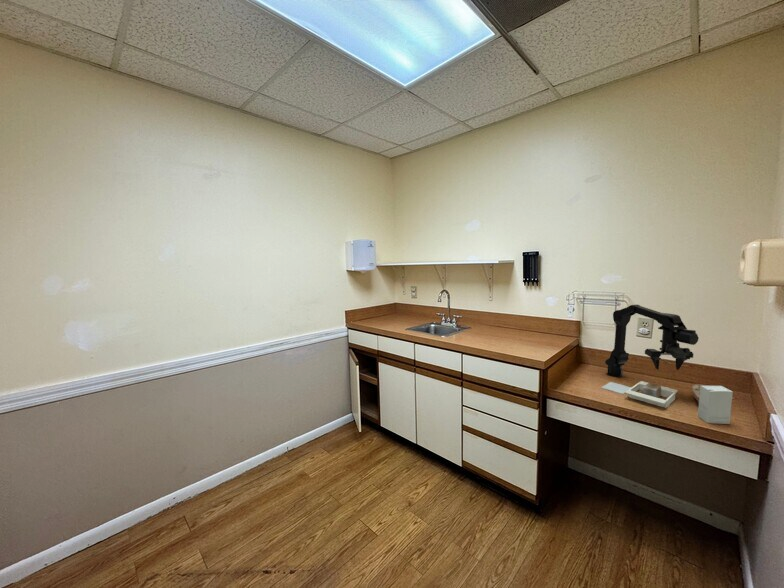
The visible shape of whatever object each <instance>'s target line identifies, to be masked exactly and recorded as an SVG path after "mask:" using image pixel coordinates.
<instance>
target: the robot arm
mask: <svg viewBox="0 0 784 588" xmlns="http://www.w3.org/2000/svg"><path fill="white" fill-rule="evenodd" d="M636 314H638V315H640V316H643V317H645V318H649V319H650V320H651V319H652V320H654V321H656V322H657V323H658V324H660V326H659V327H657V329H658V330H661V331H662V336H661V339H659V343H661V346H660V347H659V350H657V349H656V348H655V349H654V348H645V350H644V355H647V356H648V357H649V358H650V360H651V361H652V363H653V365H654V367H655V370H658V371H659V369H660V368H659V367H660V360H661V359H662V356H672V358H674V359H675V370H677V371H680V368H681V367H682V365H683V364H684V363H685V362H686V361H687V360H690V359H693V358H694V352H692V351H691V349H690V348H689V347H684V348H683V347H680V343H681V344H682V343H683V344H687V345H691V346H694V345H697V343H698V342H699V335H698V333H697V332H696V330H694V329H688V328H687V327H686V325H685V323H684V322H683V320H682V318H681V316H680V315H678V314H674V313H667V312H665V313H664V312H661V311H656V310H654V309H651V308H648V307H645V306H642V305H640V304H630V305H628V306H626V307H624V308H621V309H617V310H615V311H613V312H612V319H613V322H614V323H615V331H614V333H615V334H614V346H613V349H612V351H611V352H610V355H609V358H608V359H605V360H604V362H605V365H606V366H607V371H606V375H608V376H610V377H611V376H612V377H613V378H614V377H616V378H621V377H622V376H623V373H624V372H623V371H624V368H623V366H624V365H625V364H626V363H627V362H628V361H629V359H630V358H629V355H630V354H629V353H630V352H626V349H625V348H626V337H627V336H626V334H627V326H628V325H629V323H630V322H631V318H632V316H634V315H636Z"/></svg>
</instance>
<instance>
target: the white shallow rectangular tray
mask: <svg viewBox="0 0 784 588" xmlns="http://www.w3.org/2000/svg"><path fill="white" fill-rule="evenodd" d="M648 383H649V382H647V381H643V380H640V381H639V382H637V383H636V384H635V385H634V386H631V388H630V389H629V390H628V391H626V392H625V393H624V394H627V397H628V398H631V399H634V400H638V401H640V402H644V403H648V404H651V405H655V406H658V407H661V408H665V409H667V408H668V407H669V406H670V405H671V404H672V403H673V402H675V400H676V393H678V391H679V390H678V389H674V388H671V387H666V386H664V385H660V386H661V395H660V398H656V397H653V396H649V395H645V394H642V393H641V392H638V391H642V388H643V387H644V386H645V385H646V384H648ZM661 397H663V398H666V399H663V398H661Z"/></svg>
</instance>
